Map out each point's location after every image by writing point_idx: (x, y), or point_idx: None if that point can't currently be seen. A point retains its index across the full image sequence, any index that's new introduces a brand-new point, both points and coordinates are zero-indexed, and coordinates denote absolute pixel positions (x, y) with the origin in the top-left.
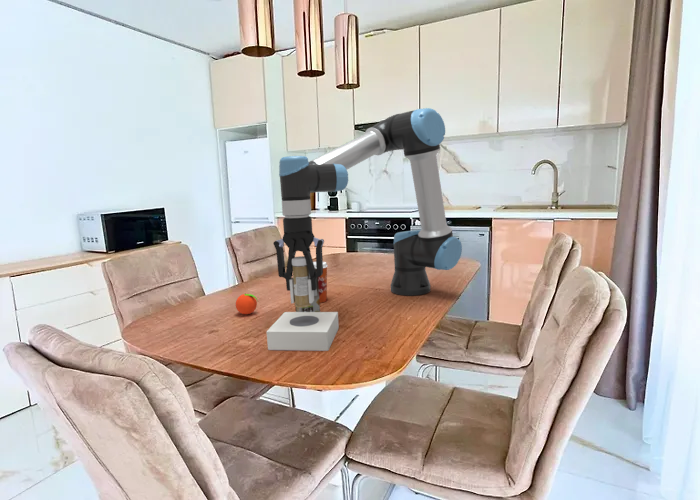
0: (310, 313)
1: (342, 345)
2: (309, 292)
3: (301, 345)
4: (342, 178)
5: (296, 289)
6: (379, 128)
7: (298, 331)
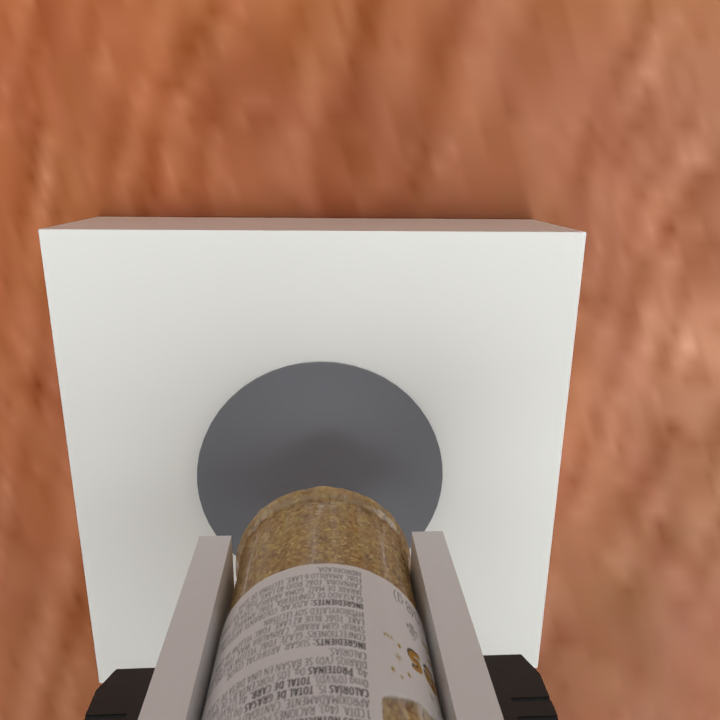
0: None
1: (23, 314)
2: (196, 624)
3: (288, 220)
4: None
5: (374, 628)
6: None
7: (303, 241)
